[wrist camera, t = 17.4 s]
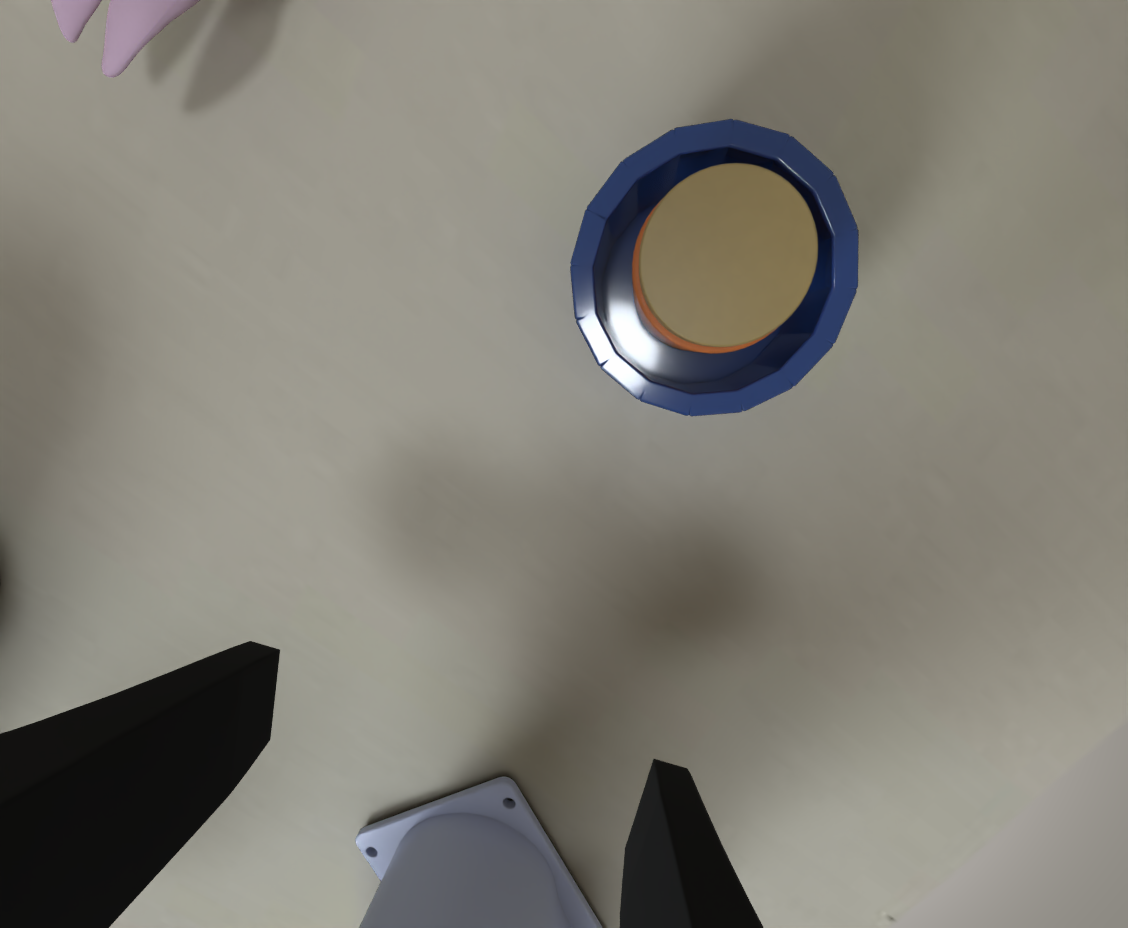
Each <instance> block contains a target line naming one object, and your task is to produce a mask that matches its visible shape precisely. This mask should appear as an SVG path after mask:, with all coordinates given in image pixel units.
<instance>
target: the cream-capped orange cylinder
mask: <svg viewBox="0 0 1128 928" xmlns="http://www.w3.org/2000/svg"><path fill="white" fill-rule="evenodd" d="M817 258H818V237H817V231H816V226H815V222H814V219H813V216H812V213H811V211H810V209H809V207H808V205H807V203H806V201H805V200H804V199H803V197H802V196H801V195H800V193H799V192H798V191H797V190H796V189H795V188H794V187H793V186H792V185H791V184H790V183H789V182H788V181H787V180H785V179H784V178H783V177H781V176H780V175H778V174H776V173H774V172H772V171H771V170H768V169H765V168H763V167H760V166H756V165H751V164H743V163H729V164H720V165H716V166H711V167H708V168H706V169H703V170H700V171H698V172H696V173H694V174H692V175H690V176H688V177H687V178H685V179H684V180H682V181H681V182H679V183H678V184H677V185H676V186H675V187H674V188H672V189H671V190H670V191H669V192H668V193H667V194H666V195H665V197H664V198H662V199H661V200H660V202H659V203H658V204H657V205H656V206H655V207H654V208H653V210H652V211H651V213H650V214H649V216H648V217H647V218H646V220H645V222H644V224H643V226H642V228H641V230H640V232H639V235H638V238H637V240H636V244H635V248H634V252H633V261H632V281H633V295H634V302H635V307H636V310H637V313H638V315H639V318H640V320H641V321H642V323H643V325H644V326H645V328H646V329H647V330H648V331H649V332H650V333H651V334H652V335H653V336H654V337H655V338H656V339H658V340H659V341H660V342H662V343H664V344H666V345H668V346H670V347H673V348H676V349H680V350H686V351H693V352H700V353H710V354H713V353H727V352H733V351H737V350H740V349H743V348H746V347H748V346H751V345H753V344H755V343H757V342H759V341H760V340H762V339H764V338H766V337H767V336H768V335H769V334H771V333H772V332H773V331H775V330H776V329H777V328H778V327H779V326H780V325H782V324H783V323H784V322H785V321H786V320H787V319H788V318H789V317H790V316H791V315H792V314H793V313H794V311H795V310H796V309H797V308H798V306H799V305H800V304H801V302H802V300H803V299H804V297H805V296H806V294H807V291H808V289H809V287H810V285H811V283H812V280H813V277H814V274H815V270H816V264H817Z"/></svg>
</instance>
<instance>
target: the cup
mask: <svg viewBox="0 0 1128 928" xmlns="http://www.w3.org/2000/svg"><path fill="white" fill-rule="evenodd" d="M729 163H743V164H751V165H756V166H760V167H763V168H765V169H768V170H771V171H772V172H774V173H776V174H778V175H780V176H781V177H783V178H784V179H785V180H787V181H788V182H789V183H790V184H791V185H792V186H793V187H794V188H795V189H796V190H797V191H798V192H799V193H800V195H801V196H802V197H803V199H804V200H805V201H806V203H807V205H808V207H809V209H810V211H811V213H812V216H813V219H814V222H815V226H816V231H817V237H818V258H817V264H816V270H815V274H814V277H813V280H812V283H811V285H810V287H809V289H808V291H807V294H806V296H805V297H804V299H803V300H802V302H801V304H800V305H799V306H798V308H797V309H796V310H795V311H794V313H793V314H792V315H791V316H790V317H789V318H788V319H787V320H786V321H785V322H784V323H783V324H782V325H780V326H779V327H778V328H777V329H776V330H775V331H773V332H772V333H771V334H769V335H768V336H767V337H766V338H764V339H762V340H760V341H759V342H757V343H755V344H753V345H751V346H748V347H746V348H743V349H740V350H737V351H733V352H727V353H713V354H710V353H700V352H693V351H686V350H680V349H676V348H673V347H670V346H668V345H666V344H664V343H662V342H660V341H659V340H658V339H656V338H655V337H654V336H653V335H652V334H651V333H650V332H649V331H648V330H647V329H646V328H645V326H644V325H643V323H642V321H641V320H640V318H639V315H638V313H637V310H636V307H635V302H634V295H633V281H632V261H633V252H634V248H635V244H636V240H637V238H638V235H639V232H640V230H641V228H642V226H643V224H644V222H645V220H646V218H647V217H648V216H649V214H650V213H651V211H652V210H653V208H654V207H655V206H656V205H657V204H658V203H659V202H660V200H661V199H662V198H664V197H665V195H666V194H667V193H668V192H669V191H670V190H671V189H672V188H674V187H675V186H676V185H677V184H678V183H679V182H681V181H682V180H684V179H685V178H687V177H688V176H690V175H692V174H694V173H696V172H698V171H700V170H703V169H706V168H708V167H711V166H716V165H720V164H729ZM833 174H834V173H833V172H832V171H831V170H830V169H829V168H828V167H827V166H825V165H824V164H823V163H822V162H821V161H820V160H819V159H817V158H816V157H815V156H814V155H813V154H812V153H811V152H810V151H808V150H807V149H806V148H805V147H804V146H803V145H802V144H801V143H799V142H798V141H797V140H796V139H795V138H794V137H792V136H790V137H789V135H788V134H786V133H782V132H779V131H775V130H772V129H768V128H765V127H761V126H757V125H754V124H750V123H747V122H743V121H740V120H734V121H733V119H728V120H721V121H715V122H709V123H702V124H696V125H690V126H684V127H677V128H675V129H674V130H670V131H669V132H667V133H665V134H664V135H662V136H661V137H659V138H657V139H656V140H654V141H653V142H651V143H649V144H648V145H646V146H644V147H643V148H641V149H640V150H638V151H636V152H635V153H633V154H632V155H630V156H628V157H627V158H625V159H624V160H623V162H620V164H619V165H618V166H617V168H616V169H615V170H614V172H613V173H612V174H611V176H610V177H609V178H608V180H607V181H606V182H605V184H604V185H603V186H602V188H601V189H600V190H599V192H598V193H597V194H596V196H595V197H594V198H593V200H592V201H591V202H590V204H589V205H588V206H587V210H586V211H585V213H584V217H583V220H582V224H581V227H580V231H579V234H578V238H577V241H576V245H575V248H574V252H573V255H572V259H571V262H570V263H571V267H570V271H571V282H572V293H573V304H574V314H575V319H577V320H576V323H577V325H578V327H579V329H580V331H581V333H582V335H583V337H584V339H585V341H586V342H587V344H588V346H589V348H590V350H591V352H592V354H593V356H594V358H595V360H596V362H597V364H598V365H599V366H601V369H602V370H603V371H604V372H605V373H607V374H608V375H609V376H610V377H611V378H612V379H614V380H615V381H616V382H617V383H618V384H620V385H621V386H622V387H623V388H624V389H626V390H627V391H628V392H629V393H630V394H631V395H633V396H634V397H635V398H636V399H638V400H639V399H640V401H641V402H644V403H647V404H651V405H654V406H657V407H660V408H663V409H666V410H670V411H673V412H676V413H679V414H682V415H685V416H688V415H690V416H702V415H715V414H727V413H739V412H742V411H746V410H748V409H751V408H753V407H755V406H757V405H759V404H761V403H763V402H765V401H767V400H769V399H771V398H773V397H775V396H777V395H779V394H782V393H784V392H786V391H788V390H790V389H791V388H792V387H793V386H795V385H797V384H798V383H799V382H800V380H801V379H802V378H803V377H804V376H805V375H806V374H807V373H808V372H809V371H810V370H811V369H812V368H813V367H814V366H815V365H816V364H817V363H818V361H819V360H820V359H821V358H822V357H823V356H824V355H825V354H826V353H827V352H828V351H829V350H830V349H831V348H832V346H833V344H834V343H835V342H836V340H837V337H838V335H839V332H840V330H841V328H842V325H843V323H844V320H845V318H846V316H847V313H848V311H849V308H850V306H851V304H852V301H853V299H854V296H855V294H856V289H857V287H858V229H857V225H856V222H855V220H854V218H853V215H852V213H851V211H850V208H849V206H848V203H847V201H846V199H845V196H844V194H843V192H842V189H841V187H840V185H839V182H838V180H837V178H836V176H835V175H833Z"/></svg>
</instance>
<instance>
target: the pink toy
mask: <svg viewBox="0 0 1128 928" xmlns="http://www.w3.org/2000/svg"><path fill="white" fill-rule="evenodd" d="M101 1H102V0H51V2H52V5H53V9H54V12H55V15H56V18H57V21H58V24H59V27H60V29H61V32H62V34H63V35H64V37H65V38H66V39H67V40H68V41H70V42H76V41H77V39H78V38H79V36H80V34H81V32H82V30H83V28H84V26H85V24H86V23H87V22H88V20H89V18H90V17H91V16H92V14H93V13H94V12H95V10H96V9H97V7H98V6H99V4H100V2H101ZM199 1H200V0H111V1H110V4H109V9H108V14H107V22H106V33H105V44H104V52H103V59H102V71H103V73H104V74H105V75H106V76H108V77H116V76H118V75H120V74H121V73H122V72H123V71H124V70H125V69H126V68H127V66H128V65H129V64H130V62H131V61H132V60H133V58H134V57H135V56H136V55H137V53H138V52H139V51H140V50H141V49H142V48H143V47H144V46H145V45H146V44H147V43H148V42H149V41H150V40H151V39H152V38H153V37H154V36H155V35H157V34H158V33H159V32H160V31H161V30H162V29H163V28H164V27H165V26H166V25H168V24H169V23H170V22H171V21H172V20H174V19H175V18H177V17H178V16H180V15H181V14H182V13H184V12H185V11H187V10H188V9H190V8H191V7H192V6H194V5H195V4H196V3H197V2H199Z"/></svg>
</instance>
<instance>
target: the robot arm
mask: <svg viewBox="0 0 1128 928" xmlns="http://www.w3.org/2000/svg"><path fill="white" fill-rule="evenodd" d="M279 654H280V650H279V649H276V648H272V647H269V646H266V645H262V644H259V643H255V642H252V641H249V642H246V643H243V644H241V645H238V646H235V647H232V648H230V649H227V650H224V651H222V652H219V653H217V654H214V655H212V656H209V657H207V658H204V659H202V660H199V661H197V662H194V663H192V664H189V665H187V666H184V667H182V668H179V669H177V670H174V671H172V672H169V673H167V674H164V675H162V676H159V677H156V678H154V679H151V680H149V681H146V682H144V683H141V684H139V685H136V686H134V687H131V688H128V689H126V690H123V691H121V692H118V693H116V694H113V695H110V696H108V697H105V698H102V699H99V700H96V701H94V702H91V703H88V704H85V705H83V706H80V707H77V708H74V709H71V710H69V711H66V712H63V713H60V714H58V715H55V716H52V717H49V718H46V719H44V720H41V721H38V722H35V723H32V724H29V725H26V726H23V727H20V728H17V729H14V730H11V731H8V732H5V733H2V734H0V928H109V927H110V926H111V925H112V923H113V922H114V921H115V920H116V919H117V918H118V917H119V916H120V915H121V913H122V912H123V911H124V910H125V909H126V908H127V907H128V906H129V905H130V904H131V903H132V901H133V900H134V899H135V898H136V897H137V896H138V895H139V894H140V893H141V892H142V891H143V889H144V888H145V887H146V886H147V885H148V884H149V883H150V882H151V881H152V880H153V879H154V877H155V876H156V875H157V874H158V873H159V872H160V871H161V870H162V869H163V868H164V867H165V865H166V864H167V863H168V862H169V861H170V860H171V859H172V858H173V857H174V856H175V855H176V853H177V852H178V851H179V850H180V849H181V848H182V847H183V846H184V845H185V844H186V843H187V841H188V840H189V839H190V838H191V837H192V836H193V835H194V834H195V833H196V832H197V830H198V829H199V828H200V827H201V826H202V825H203V824H204V823H205V822H206V820H207V819H208V818H209V817H210V816H211V815H212V814H213V813H214V812H215V811H216V809H217V808H218V807H219V806H220V805H221V804H222V803H223V802H224V800H225V799H226V798H227V797H228V796H229V795H230V794H231V792H232V791H233V790H234V788H235V787H236V786H237V785H238V783H239V782H240V781H241V779H242V778H243V777H244V775H245V774H246V773H247V771H248V770H249V769H250V767H251V766H252V764H253V763H254V762H255V760H256V759H257V757H258V756H259V755H260V753H261V752H262V750H263V749H264V748H265V746H266V745H267V743H268V742H269V741H270V737H271V728H272V719H273V709H274V700H275V691H276V682H277V673H278V663H279ZM507 798H511V799H513V800H514V801H510V800H508V799H507ZM356 844H357V846H358V848H359V849H360V851H361V852H362V854H363V855H364V857H365V858H366V860H367V861H368V863H369V864H370V866H371V867H372V869H373V870H374V872H375V873H376V875H377V876H378V878H379V879H380V881H381V883H380V885H379V887H378V889H377V891H376V893H375V895H374V897H373V900H372V902H371V904H370V906H369V908H368V910H367V912H366V914H365V916H364V918H363V921H362V923H361V925H360V927H359V928H603V927H602V926H601V924H600V922H599V921H598V919H597V917H596V916H595V914H594V912H593V911H592V909H591V908H590V906H589V904H588V903H587V901H586V899H585V898H584V896H583V894H582V893H581V891H580V889H579V888H578V886H577V884H576V883H575V881H574V879H573V878H572V876H571V874H570V873H569V871H568V869H567V868H566V866H565V864H564V863H563V861H562V859H561V858H560V856H559V854H558V853H557V851H556V849H555V848H554V846H553V844H552V843H551V841H550V839H549V838H548V836H547V834H546V833H545V831H544V830H543V828H542V826H541V825H540V823H539V821H538V820H537V818H536V816H535V815H534V813H533V811H532V810H531V808H530V806H529V805H528V803H527V801H526V800H525V798H524V796H523V795H522V793H521V791H520V790H519V788H518V786H517V785H516V783H515V782H514V781H513V780H512V779H510V778H509V777H498V778H496V779H493V780H490V781H488V782H485V783H482V784H479V785H477V786H474V787H471V788H469V789H466V790H463V791H460V792H458V793H455V794H452V795H449V796H447V797H444V798H441V799H439V800H436V801H433V802H430V803H428V804H425V805H422V806H420V807H417V808H414V809H411V810H409V811H406V812H403V813H400V814H398V815H395V816H392V817H390V818H387V819H384V820H381V821H379V822H376V823H373V824H370V825H368V826H365V827H363V828H361V829H360V831H359V833H358V835H357V836H356ZM620 928H764V927H763V926H762V924H761V922H760V920H759V918H758V916H757V914H756V912H755V910H754V908H753V907H752V905H751V903H750V901H749V899H748V897H747V895H746V893H745V891H744V889H743V887H742V885H741V883H740V881H739V879H738V877H737V875H736V873H735V871H734V869H733V867H732V865H731V863H730V860H729V858H728V856H727V854H726V852H725V850H724V848H723V846H722V844H721V841H720V839H719V837H718V835H717V833H716V830H715V828H714V826H713V824H712V822H711V819H710V817H709V815H708V813H707V810H706V808H705V806H704V804H703V801H702V799H701V797H700V794H699V792H698V790H697V787H696V785H695V783H694V781H693V778H692V776H691V774H690V772H689V771H688V769H687V768H684V767H680V766H677V765H673V764H670V763H666V762H663V761H660V760H656V759H654V760H653V763H652V766H651V769H650V772H649V775H648V778H647V781H646V785H645V788H644V791H643V794H642V797H641V800H640V803H639V807H638V810H637V813H636V816H635V819H634V822H633V825H632V828H631V832H630V835H629V838H628V841H627V844H626V847H625V857H624V869H623V880H622V893H621V907H620Z"/></svg>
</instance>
